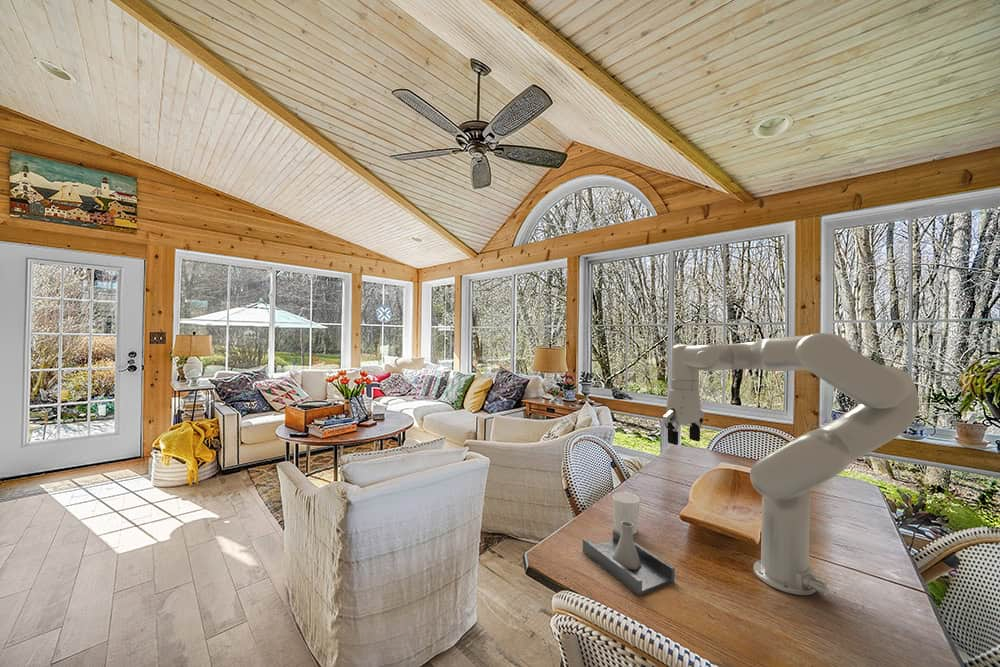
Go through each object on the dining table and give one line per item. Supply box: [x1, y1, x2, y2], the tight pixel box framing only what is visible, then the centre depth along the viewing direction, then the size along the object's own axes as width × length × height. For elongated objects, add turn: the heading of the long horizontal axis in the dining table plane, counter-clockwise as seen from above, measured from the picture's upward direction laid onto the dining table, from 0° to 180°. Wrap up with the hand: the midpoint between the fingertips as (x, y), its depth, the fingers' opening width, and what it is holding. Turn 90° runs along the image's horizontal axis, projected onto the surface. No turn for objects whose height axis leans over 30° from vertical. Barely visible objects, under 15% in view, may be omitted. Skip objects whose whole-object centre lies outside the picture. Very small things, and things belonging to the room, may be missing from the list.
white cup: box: [612, 492, 641, 536], centre depth 119 cm, size 8×8×10 cm
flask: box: [612, 521, 641, 570], centre depth 100 cm, size 7×7×10 cm
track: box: [582, 529, 676, 597], centre depth 100 cm, size 20×12×4 cm, turn 27°
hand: (683, 442), depth 116 cm, fingers open, 9 cm apart
